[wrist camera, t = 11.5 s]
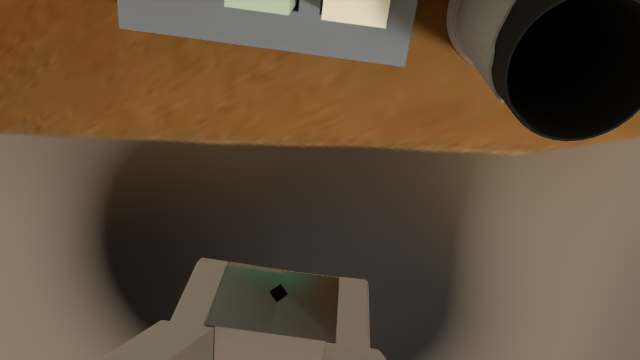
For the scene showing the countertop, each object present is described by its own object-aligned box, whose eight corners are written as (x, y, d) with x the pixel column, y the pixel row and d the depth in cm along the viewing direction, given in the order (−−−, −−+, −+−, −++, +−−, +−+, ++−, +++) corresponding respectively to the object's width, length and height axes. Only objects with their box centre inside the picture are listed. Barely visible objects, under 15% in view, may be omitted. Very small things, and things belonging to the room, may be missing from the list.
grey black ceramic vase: (452, -51, 36) (506, -25, 23) (661, -52, 35) (840, -27, 22) (440, 70, 40) (480, 150, 27) (627, 72, 39) (761, 155, 26)
